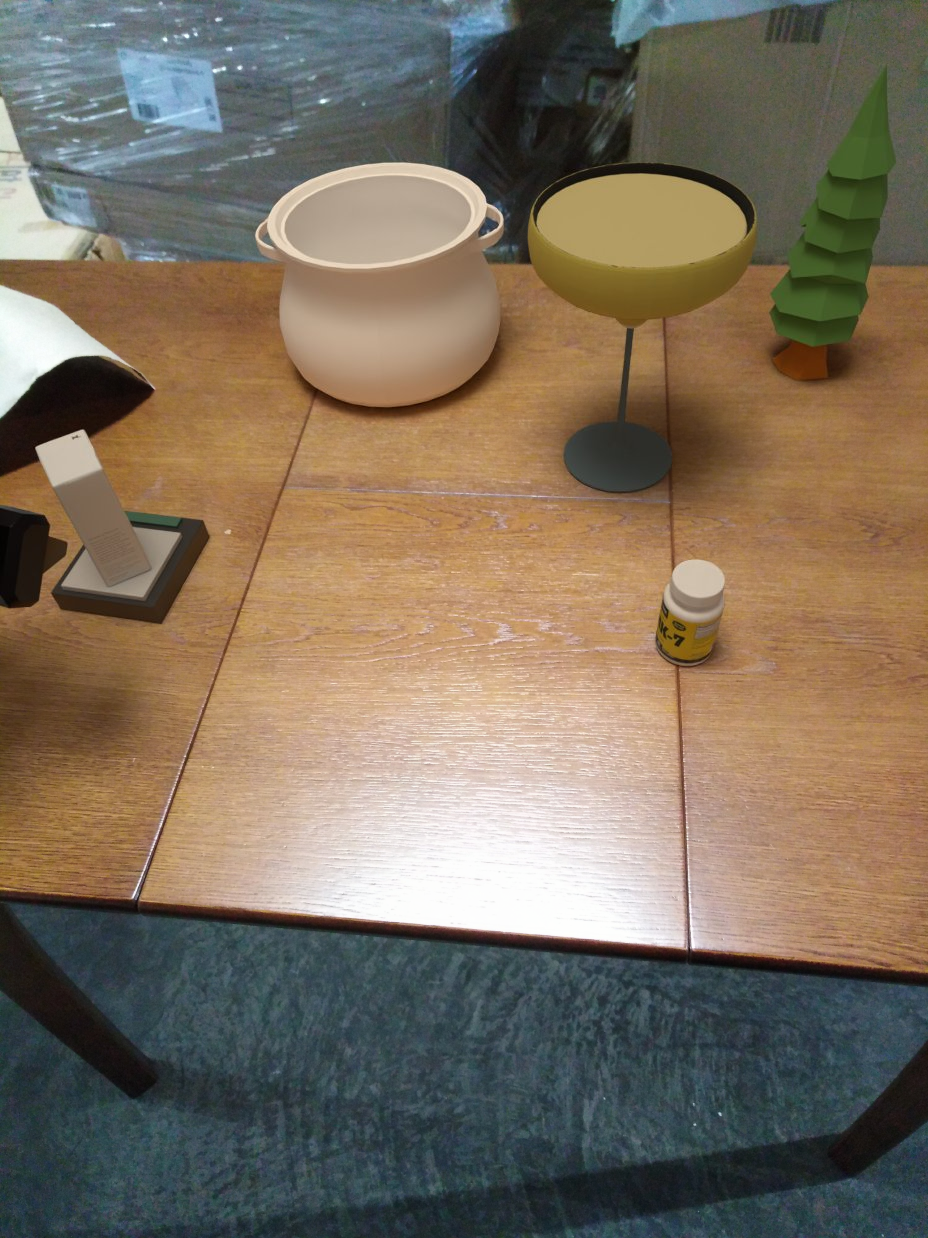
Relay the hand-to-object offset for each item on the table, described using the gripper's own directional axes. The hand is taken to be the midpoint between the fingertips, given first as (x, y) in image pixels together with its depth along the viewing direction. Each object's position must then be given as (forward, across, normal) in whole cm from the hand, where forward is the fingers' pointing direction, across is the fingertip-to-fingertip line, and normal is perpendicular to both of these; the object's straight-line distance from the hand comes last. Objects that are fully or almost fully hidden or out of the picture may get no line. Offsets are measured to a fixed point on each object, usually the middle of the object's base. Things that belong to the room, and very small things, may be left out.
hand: (15, 535), depth 68 cm
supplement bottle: (+21, -49, -2) cm, 53 cm away
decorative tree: (+51, -53, -32) cm, 81 cm away
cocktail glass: (+36, -38, -17) cm, 55 cm away
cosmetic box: (+13, 0, +2) cm, 13 cm away
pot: (+43, -10, -24) cm, 50 cm away
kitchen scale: (+16, 0, +3) cm, 16 cm away
